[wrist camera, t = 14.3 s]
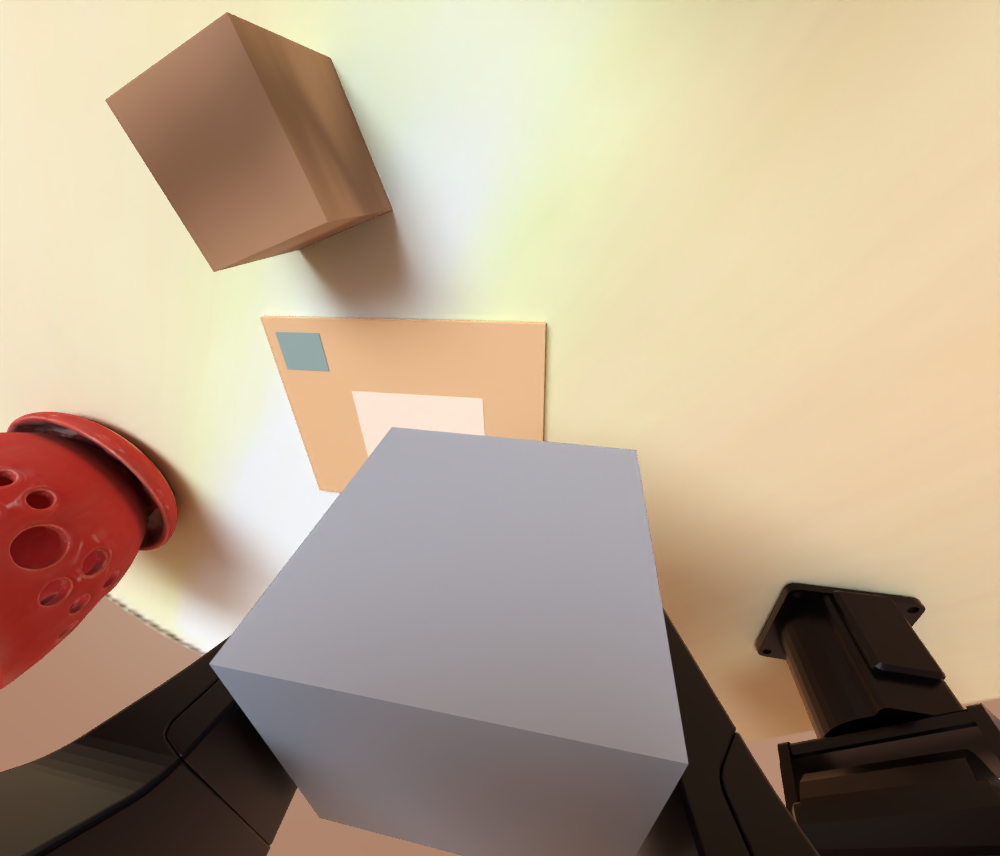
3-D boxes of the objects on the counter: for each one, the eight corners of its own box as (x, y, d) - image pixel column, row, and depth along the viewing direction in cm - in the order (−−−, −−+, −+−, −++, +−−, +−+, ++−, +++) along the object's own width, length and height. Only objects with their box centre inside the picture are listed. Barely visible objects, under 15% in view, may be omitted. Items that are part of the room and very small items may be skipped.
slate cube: (603, 608, 12) (612, 895, 7) (418, 579, 12) (319, 817, 8) (636, 449, 9) (688, 764, 4) (391, 427, 10) (208, 664, 5)
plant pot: (150, 400, 25) (-143, 551, 15) (221, 547, 32) (53, 717, 22) (-21, 376, 27) (-385, 497, 17) (81, 521, 34) (-132, 666, 24)
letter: (541, 510, 24) (540, 514, 23) (322, 487, 26) (319, 490, 26) (546, 322, 18) (545, 324, 18) (264, 315, 20) (259, 317, 20)
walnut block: (393, 209, 17) (327, 221, 13) (299, 249, 18) (213, 271, 14) (331, 58, 15) (226, 12, 10) (230, 119, 16) (105, 99, 12)
